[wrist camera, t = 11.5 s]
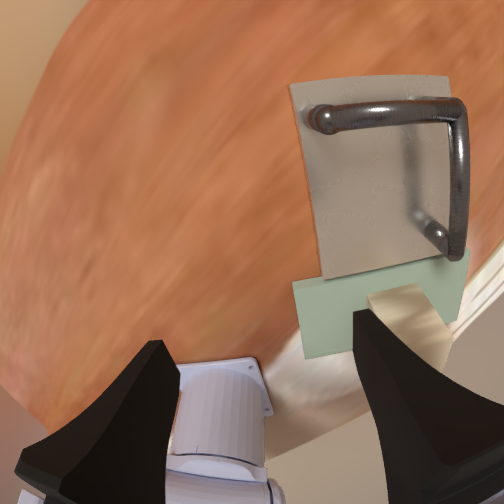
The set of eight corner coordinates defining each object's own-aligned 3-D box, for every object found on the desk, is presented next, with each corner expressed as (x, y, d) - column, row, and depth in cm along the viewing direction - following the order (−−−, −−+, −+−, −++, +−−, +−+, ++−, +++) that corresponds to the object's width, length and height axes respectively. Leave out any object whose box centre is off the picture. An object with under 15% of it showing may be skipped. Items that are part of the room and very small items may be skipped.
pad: (451, 313, 22) (456, 320, 21) (303, 350, 24) (305, 359, 23) (463, 244, 19) (470, 250, 18) (292, 282, 20) (293, 290, 20)
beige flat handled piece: (444, 243, 19) (479, 277, 14) (319, 270, 20) (334, 315, 16) (438, 76, 13) (484, 75, 9) (287, 85, 15) (298, 77, 10)
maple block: (416, 282, 19) (453, 337, 14) (411, 322, 21) (440, 377, 16) (366, 294, 20) (394, 356, 14) (365, 334, 21) (387, 395, 16)
